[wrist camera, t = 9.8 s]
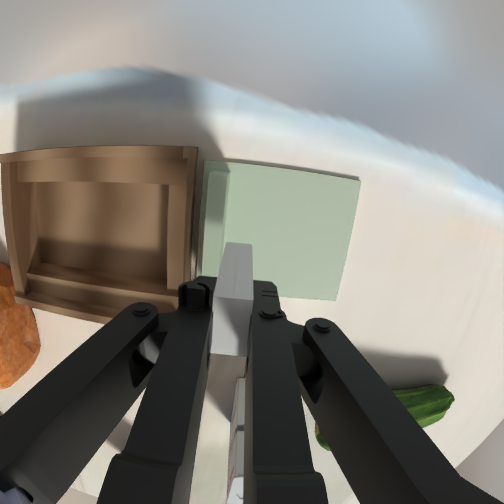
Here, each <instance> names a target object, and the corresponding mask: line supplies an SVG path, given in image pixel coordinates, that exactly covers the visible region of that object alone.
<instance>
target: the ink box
mask: <svg viewBox="0 0 504 504" xmlns="http://www.w3.org/2000/svg"><path fill="white" fill-rule="evenodd" d="M244 421H245V378H238V379H237V383H236V389H235V396H234V403H233V410H232V417H231V424H230V442H229V458H228V480H227V500H226V504H243V475H244Z"/></svg>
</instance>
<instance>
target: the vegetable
mask: <svg viewBox="0 0 504 504" xmlns="http://www.w3.org/2000/svg"><path fill="white" fill-rule="evenodd" d="M391 391H392V392H393V393H394V394H395V396H396V397H397V398H398V399H399V400H400V402H401V403H402V404H403V405H404V406H405V408H406V409H407V410H408V411H409V413H410V414H411V415H412V416H413V418H414V419H415V420H416V421H417V422H418V424H419V425H420V426H421V427H422V428H424V427H426V426H429V425H431V424H433V423H435V422H437V421H439V420H440V419H442V418H443V417H444V415H445V413H446V411H447V410H448V409H449V408H450V405H451V404H452V402H454V400H455V399H454V396H453V395H452V393H451V392H449V391H448V390H447V389H446V388H445V386H439V385H427V386H423V387H419V388H414V389H406V390H391ZM315 435H316V439H317V441H318V443H319V444H320V445H321V446H322V447H323V448H324V449H326V450H328V451H331V450H330V448H329V446H328V444H327V442H326V440H325V439H324V437H323V435H322V433H321V431H320V429H319V427H318V425H317V424H316V423H315Z"/></svg>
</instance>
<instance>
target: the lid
mask: <svg viewBox="0 0 504 504" xmlns="http://www.w3.org/2000/svg"><path fill="white" fill-rule="evenodd" d="M360 185H361V181H358V180H353V179H347V178H342V177H336V176H330V175H325V174H318V173H312V172H306V171H299V170H292V169H285V168H277V167H269V166H261V165H253V164H244V163H234V162H223V161H212V160H205V162H204V172H203V184H202V195H201V208H200V222H199V237H198V254H197V274H196V278H197V277H198V276H210V277H218V274H219V269H220V265H221V261H222V257H223V253H224V249H225V245H226V242H233V243H243V244H252V254H253V280H260V281H272V282H273V283H274V284H275V285H276V286H277V291H278V297H290V298H302V299H315V300H328V301H336V297H337V294H338V290H339V286H340V282H341V278H342V273H343V269H344V265H345V261H346V256H347V252H348V247H349V243H350V238H351V233H352V228H353V223H354V218H355V213H356V208H357V202H358V197H359V191H360Z"/></svg>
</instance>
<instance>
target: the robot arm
mask: <svg viewBox="0 0 504 504" xmlns="http://www.w3.org/2000/svg"><path fill="white" fill-rule="evenodd" d="M210 350H211V353H215V354H224V355H235V356H247V357H246V365H245V373H244V377H245V421H244V475H243V504H328V498H327V492H326V487H325V482H324V479H323V476H322V475H321V473H319V472H315V470H314V467H313V463H312V457H311V451H310V445H309V439H308V433H307V427H306V421H305V415H304V410H303V404H302V398H301V395H302V397H303V399H304V401H305V403H306V405H307V407H308V408H309V410H310V412H311V414H312V416H313V418H314V420H315V422H316V424H317V425H318V427H319V429H320V431H321V433H322V435H323V437H324V439H325V440H326V442H327V444H328V446H329V448H330V450H331V452H332V453H333V455H334V457H335V459H336V461H337V463H338V464H339V466H340V468H341V470H342V472H343V474H344V475H345V477H346V479H347V481H348V483H349V485H350V486H351V488H352V490H353V492H354V494H355V495H356V497H357V499H358V501H359V503H360V504H504V503H503V502H501V501H499V500H498V499H496V498H494V497H493V496H491V495H489V494H488V493H486V492H484V491H483V490H481V489H479V488H478V487H476V486H475V485H473V484H471V483H470V482H468V481H467V480H465V479H464V478H462V477H460V475H459V474H458V473H457V471H456V470H455V469H454V468H453V466H452V465H451V464H450V462H449V461H448V460H447V459H446V457H445V456H444V455H443V454H442V452H441V451H440V450H439V449H438V447H437V446H436V445H435V444H434V442H433V441H432V440H431V439H430V437H429V436H428V435H427V434H426V432H425V431H424V430H423V429H422V427H421V426H420V425H419V424H418V422H417V421H416V420H415V419H414V418H413V416H412V415H411V414H410V413H409V411H408V410H407V409H406V408H405V406H404V405H403V404H402V403H401V402H400V400H399V399H398V398H397V397H396V396H395V394H394V393H393V392H392V391H391V389H390V388H389V387H388V386H387V385H386V383H385V382H384V381H383V380H382V379H381V377H380V376H379V375H378V374H377V372H376V371H375V370H374V369H373V368H372V366H371V365H370V364H369V363H368V362H367V360H366V359H365V358H364V357H363V356H362V354H361V353H360V352H359V351H358V350H357V349H356V347H355V346H354V345H353V344H352V343H351V341H350V340H349V339H348V338H347V337H346V335H345V334H344V333H343V332H342V331H341V330H340V328H339V327H338V326H337V325H336V324H335V323H334V322H332V321H330V320H328V319H324V318H312V319H309V320H308V321H306V324H305V326H302V325H298V324H295V323H292V322H290V321H288V320H287V318H286V315H285V313H284V312H283V311H282V310H281V308H280V302H279V297H278V291H277V286H276V285H275V284H274V283H273V282H272V281H260V280H253V254H252V244H243V243H233V242H226V245H225V249H224V253H223V257H222V261H221V265H220V269H219V274H218V277H210V276H198V277H197V278H195V279H194V280H193V281H188V282H184V283H182V284H180V285H179V286H178V308H177V310H176V311H173V312H168V313H158V308H157V307H156V306H155V305H153V304H150V303H145V302H137V303H134V304H131V305H129V306H127V307H126V308H125V309H124V310H122V311H121V312H120V313H119V314H117V315H116V316H115V317H114V318H113V319H111V320H110V321H109V322H108V323H107V324H105V325H104V326H103V327H102V328H101V329H99V330H98V331H97V332H96V333H95V334H93V335H92V336H91V337H90V338H89V339H88V340H86V341H85V342H84V343H83V344H82V345H81V346H79V347H78V348H77V349H76V350H75V351H74V352H72V353H71V354H70V355H69V356H68V357H67V358H65V359H64V360H63V361H62V362H61V363H60V364H59V365H57V366H56V367H55V368H54V369H53V370H52V371H51V372H49V373H48V374H47V375H46V376H45V377H44V378H43V379H42V380H40V381H39V382H38V383H37V384H36V385H35V386H34V387H33V388H32V389H30V390H29V391H28V392H27V393H26V394H25V395H24V396H23V397H22V398H21V399H19V400H18V401H17V402H16V403H15V404H14V405H13V406H12V407H11V408H10V409H9V410H8V411H6V412H5V413H4V414H3V415H2V416H1V417H0V504H56V503H57V502H58V501H59V500H60V498H61V497H62V496H63V495H64V493H65V492H66V491H67V490H68V488H69V487H70V486H71V485H72V483H73V482H74V481H75V479H76V478H77V477H78V475H79V474H80V473H81V471H82V470H83V469H84V467H85V466H86V465H87V464H88V462H89V461H90V460H91V458H92V457H93V456H94V454H95V453H96V452H97V450H98V449H99V448H100V447H101V445H102V444H103V443H104V441H105V440H106V439H107V437H108V436H109V435H110V433H111V432H112V431H113V429H114V428H115V427H116V426H117V424H118V423H119V422H120V420H121V419H122V418H123V416H124V415H125V414H126V412H127V411H128V410H129V409H130V407H131V406H132V405H133V403H134V402H135V401H136V399H137V398H138V397H139V395H140V394H141V393H142V392H143V390H144V389H145V388H146V390H145V392H144V395H143V398H142V401H141V403H140V406H139V409H138V412H137V414H136V417H135V420H134V423H133V426H132V429H131V432H130V435H129V438H128V440H127V443H126V446H125V449H124V451H123V452H122V453H121V454H116V455H115V456H114V457H113V458H112V460H111V462H110V464H109V467H108V470H107V473H106V476H105V479H104V482H103V485H102V488H101V491H100V494H99V497H98V501H97V504H189V499H190V492H191V484H192V477H193V469H194V462H195V455H196V448H197V441H198V434H199V428H200V421H201V414H202V408H203V401H204V395H205V389H206V382H207V376H208V370H209V364H210ZM146 386H147V387H146Z"/></svg>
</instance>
